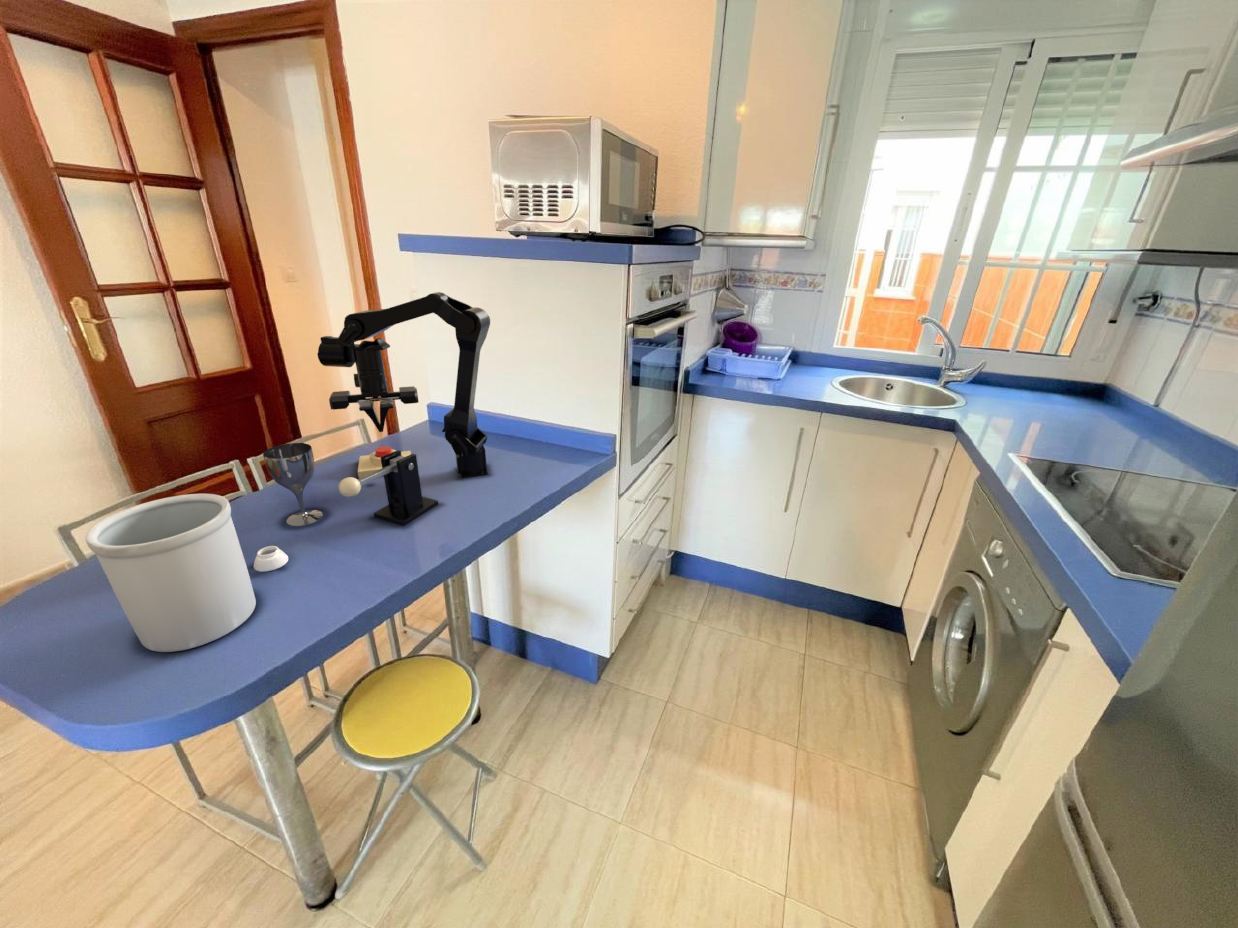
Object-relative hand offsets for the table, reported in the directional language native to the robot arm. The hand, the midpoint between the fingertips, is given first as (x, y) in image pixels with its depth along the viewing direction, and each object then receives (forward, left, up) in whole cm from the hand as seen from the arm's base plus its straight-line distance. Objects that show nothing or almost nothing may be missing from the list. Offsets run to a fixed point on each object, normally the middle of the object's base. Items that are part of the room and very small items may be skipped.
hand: (381, 431), depth 122 cm
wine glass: (+15, +22, -10) cm, 28 cm away
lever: (0, +30, 0) cm, 30 cm away
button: (0, 0, -6) cm, 6 cm away
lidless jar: (+18, +38, -10) cm, 43 cm away
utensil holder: (+25, +50, -10) cm, 57 cm away
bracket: (-4, +25, -10) cm, 28 cm away
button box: (0, 0, -10) cm, 10 cm away
